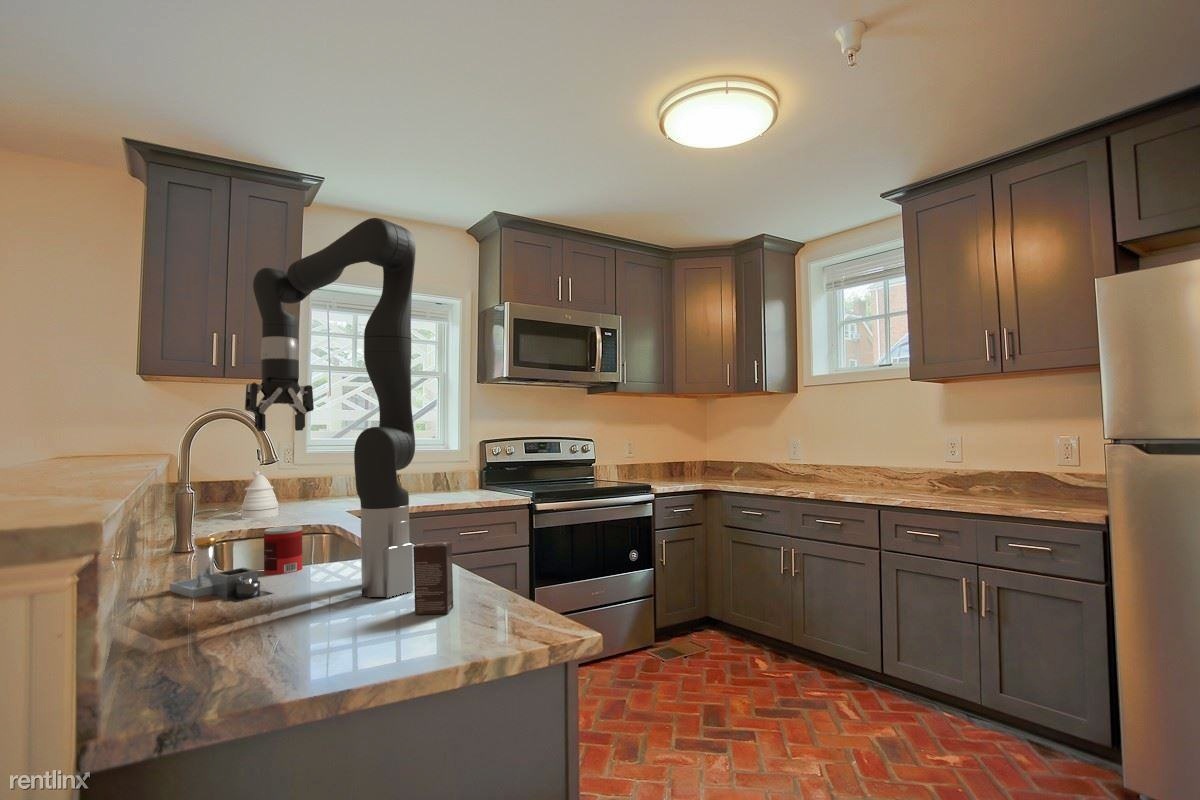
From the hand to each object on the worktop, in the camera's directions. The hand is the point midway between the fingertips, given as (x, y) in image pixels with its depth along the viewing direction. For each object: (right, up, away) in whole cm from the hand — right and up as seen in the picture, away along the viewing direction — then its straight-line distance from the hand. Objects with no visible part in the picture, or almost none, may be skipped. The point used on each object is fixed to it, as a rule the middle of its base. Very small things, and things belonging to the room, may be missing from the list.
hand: (280, 430), depth 140 cm
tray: (-9, -33, -14) cm, 37 cm away
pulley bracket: (+2, -32, -18) cm, 37 cm away
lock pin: (-9, -32, -13) cm, 36 cm away
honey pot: (-63, -40, +107) cm, 130 cm away
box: (+42, -31, -28) cm, 59 cm away
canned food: (0, -34, +2) cm, 33 cm away
